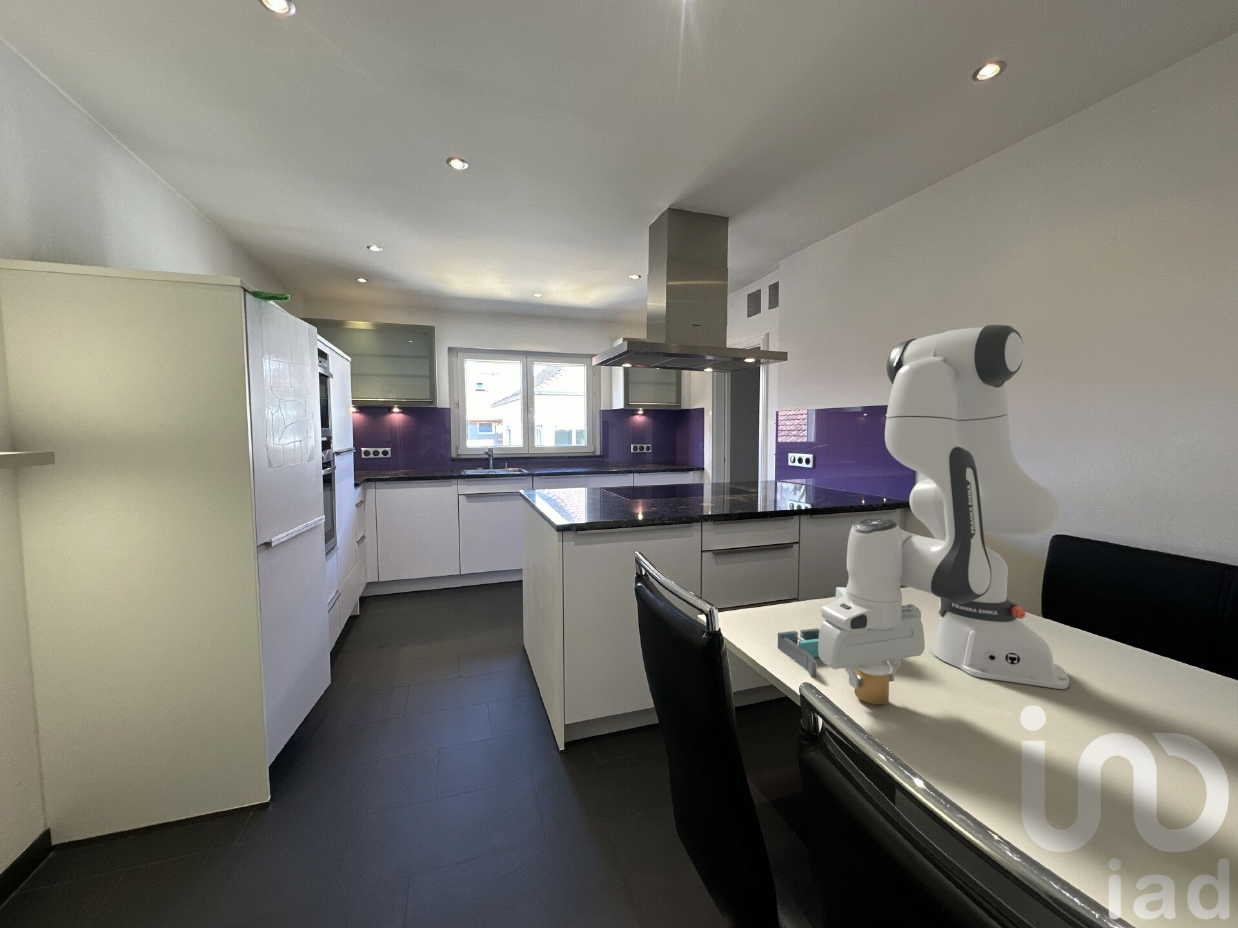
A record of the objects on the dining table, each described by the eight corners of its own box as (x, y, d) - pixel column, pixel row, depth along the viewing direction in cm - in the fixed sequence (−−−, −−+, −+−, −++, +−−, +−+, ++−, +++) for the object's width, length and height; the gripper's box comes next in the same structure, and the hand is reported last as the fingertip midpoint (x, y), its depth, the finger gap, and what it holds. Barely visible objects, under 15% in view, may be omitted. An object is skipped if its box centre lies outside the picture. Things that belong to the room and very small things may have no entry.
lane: (863, 670, 96) (863, 653, 95) (812, 677, 93) (812, 660, 92) (820, 642, 109) (820, 627, 108) (774, 648, 106) (774, 633, 105)
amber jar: (889, 691, 86) (890, 660, 85) (889, 707, 81) (889, 674, 80) (855, 683, 89) (855, 653, 88) (852, 698, 84) (853, 666, 83)
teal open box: (830, 654, 102) (831, 639, 101) (801, 658, 100) (801, 643, 100) (808, 640, 109) (809, 625, 109) (780, 643, 107) (781, 629, 107)
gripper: (905, 597, 89) (904, 666, 90) (813, 608, 84) (812, 682, 85) (935, 609, 83) (933, 683, 84) (837, 622, 78) (836, 701, 79)
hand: (871, 683), depth 85 cm, fingers closed on amber jar, 5 cm apart
